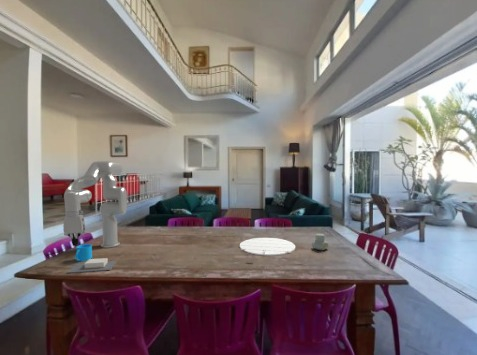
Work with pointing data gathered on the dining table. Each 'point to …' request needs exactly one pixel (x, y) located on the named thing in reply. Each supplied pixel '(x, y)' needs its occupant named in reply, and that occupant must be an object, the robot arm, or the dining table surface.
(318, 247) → the air freshener
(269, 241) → the lazy susan
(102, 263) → the white rectangular block
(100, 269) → the mat
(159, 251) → the dining table surface
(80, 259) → the mug
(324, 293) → the dining table surface
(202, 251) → the dining table surface
